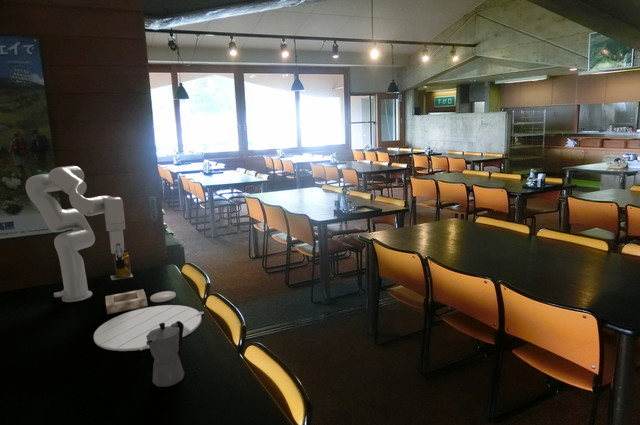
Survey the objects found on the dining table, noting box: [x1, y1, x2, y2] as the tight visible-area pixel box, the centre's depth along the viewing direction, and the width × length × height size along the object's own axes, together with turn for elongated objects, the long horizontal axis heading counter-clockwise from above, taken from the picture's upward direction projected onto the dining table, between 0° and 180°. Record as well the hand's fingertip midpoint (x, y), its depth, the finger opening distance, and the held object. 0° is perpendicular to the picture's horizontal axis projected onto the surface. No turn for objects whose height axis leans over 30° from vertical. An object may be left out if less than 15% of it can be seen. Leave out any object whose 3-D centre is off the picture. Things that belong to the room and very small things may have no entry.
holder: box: [104, 288, 149, 315], centre depth 200 cm, size 16×14×4 cm
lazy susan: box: [93, 304, 205, 352], centre depth 176 cm, size 40×39×3 cm
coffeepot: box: [146, 321, 185, 388], centre depth 137 cm, size 15×9×18 cm, turn 159°
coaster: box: [149, 290, 177, 303], centre depth 207 cm, size 11×11×1 cm
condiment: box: [110, 248, 134, 281], centre depth 197 cm, size 7×8×12 cm
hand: (120, 265), depth 197 cm, fingers closed on condiment, 6 cm apart
